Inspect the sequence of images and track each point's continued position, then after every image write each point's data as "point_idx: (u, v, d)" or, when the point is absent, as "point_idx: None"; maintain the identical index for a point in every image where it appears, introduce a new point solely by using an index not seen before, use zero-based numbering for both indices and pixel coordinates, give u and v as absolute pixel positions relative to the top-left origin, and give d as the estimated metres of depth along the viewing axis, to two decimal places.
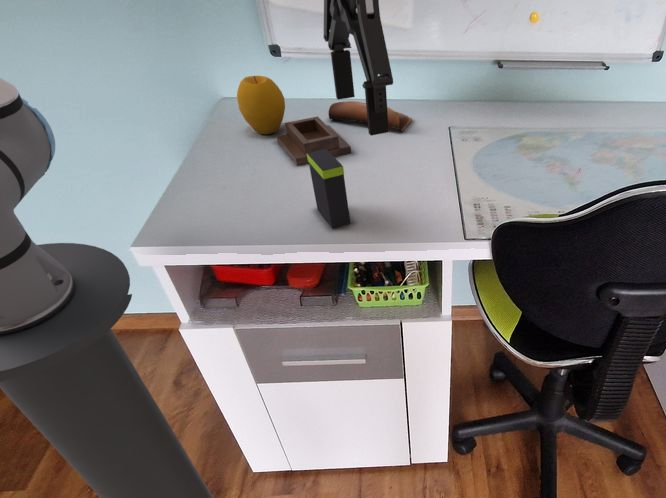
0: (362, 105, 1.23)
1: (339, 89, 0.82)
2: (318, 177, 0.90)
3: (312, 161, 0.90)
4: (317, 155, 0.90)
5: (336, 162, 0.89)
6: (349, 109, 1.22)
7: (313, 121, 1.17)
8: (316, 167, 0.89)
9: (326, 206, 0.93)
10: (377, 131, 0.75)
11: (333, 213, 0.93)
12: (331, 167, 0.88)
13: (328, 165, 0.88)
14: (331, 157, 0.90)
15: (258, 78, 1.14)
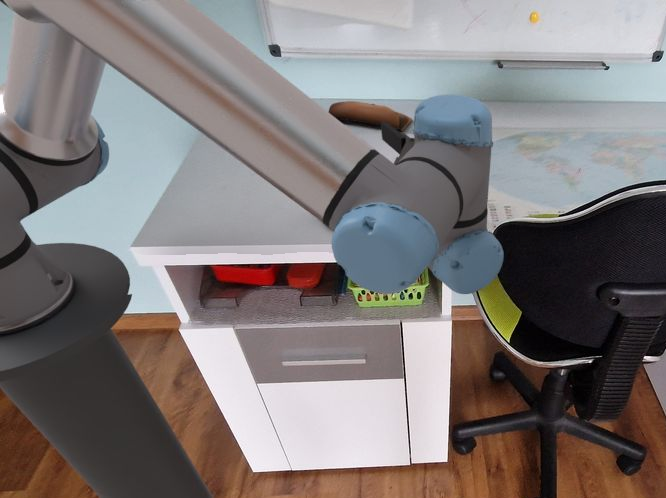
0: (362, 105, 1.23)
1: (385, 128, 0.80)
2: None
3: None
4: None
5: None
6: (349, 109, 1.22)
7: None
8: None
9: None
10: None
11: None
12: None
13: None
14: None
15: None
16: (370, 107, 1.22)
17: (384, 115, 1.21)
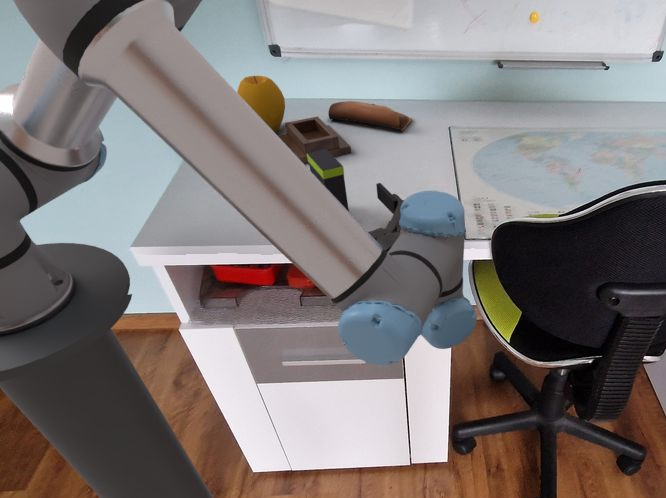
0: (362, 105, 1.23)
1: (380, 189, 0.91)
2: (318, 177, 0.90)
3: (312, 161, 0.90)
4: (317, 155, 0.90)
5: (336, 162, 0.89)
6: (349, 109, 1.22)
7: (313, 121, 1.17)
8: (316, 167, 0.89)
9: None
10: None
11: None
12: (331, 167, 0.88)
13: (328, 165, 0.88)
14: (331, 157, 0.90)
15: (258, 78, 1.14)
16: (370, 107, 1.22)
17: (384, 115, 1.21)
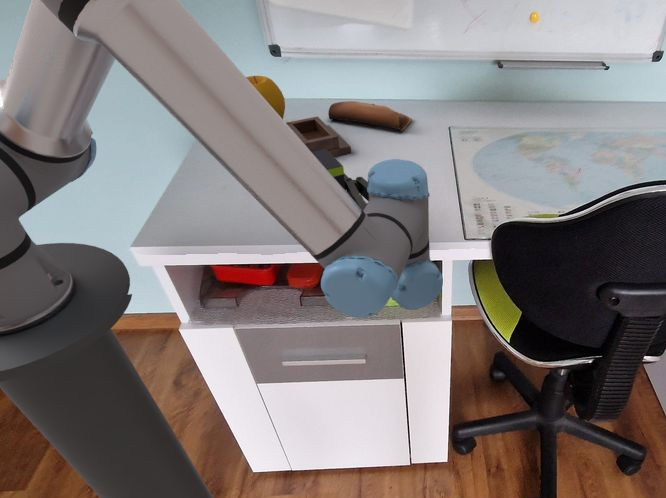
0: (362, 105, 1.23)
1: None
2: None
3: None
4: (317, 155, 0.90)
5: (336, 162, 0.89)
6: (349, 109, 1.22)
7: (313, 121, 1.17)
8: None
9: None
10: None
11: None
12: (331, 167, 0.88)
13: (328, 165, 0.88)
14: (331, 157, 0.90)
15: (258, 78, 1.14)
16: (370, 107, 1.22)
17: (384, 115, 1.21)
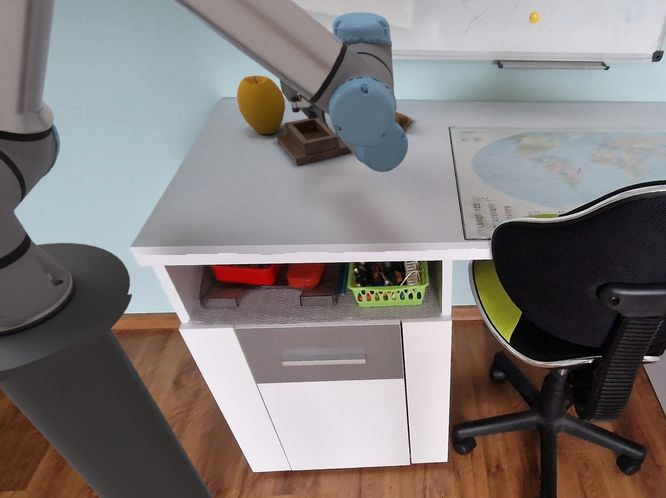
0: None
1: None
2: None
3: None
4: None
5: None
6: None
7: (313, 121, 1.17)
8: None
9: None
10: None
11: None
12: None
13: None
14: None
15: (258, 78, 1.14)
16: None
17: None
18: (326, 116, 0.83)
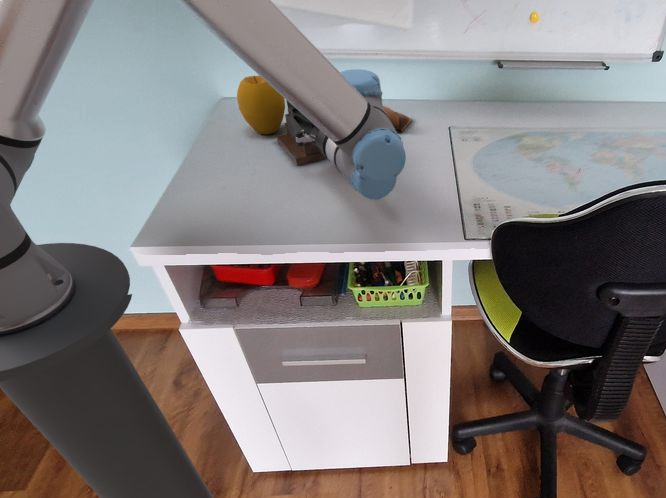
0: None
1: None
2: None
3: None
4: None
5: None
6: None
7: None
8: None
9: None
10: (287, 104, 1.12)
11: None
12: None
13: None
14: None
15: (258, 78, 1.14)
16: None
17: None
18: (327, 151, 0.98)
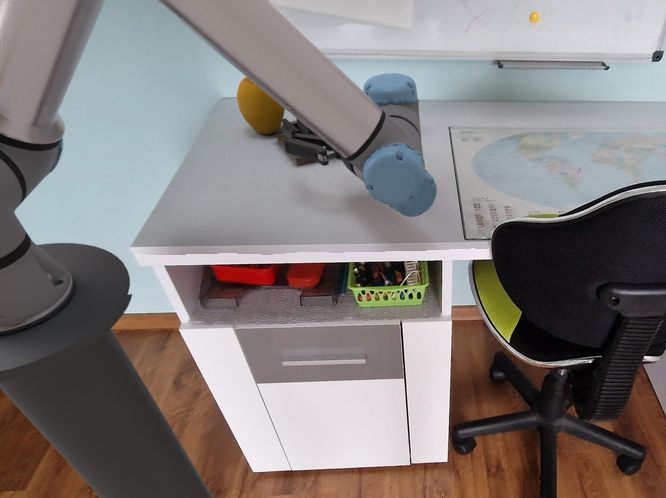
0: None
1: None
2: None
3: None
4: None
5: None
6: None
7: None
8: None
9: (306, 129, 1.10)
10: (283, 125, 0.99)
11: (311, 134, 1.10)
12: None
13: None
14: None
15: None
16: None
17: None
18: (355, 165, 0.88)
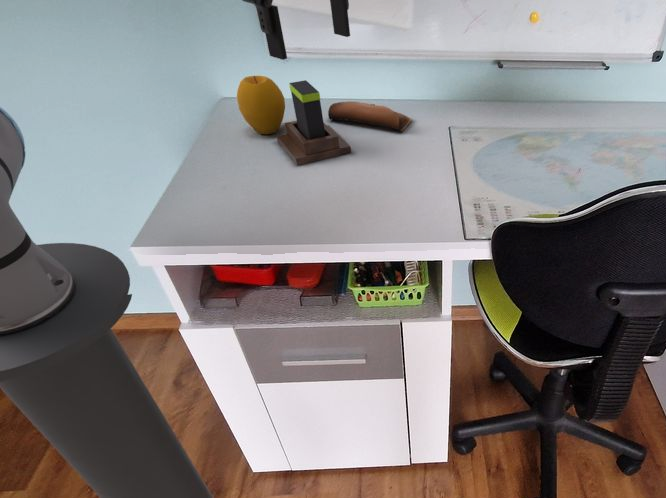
0: (362, 105, 1.23)
1: (334, 23, 0.85)
2: (299, 102, 1.08)
3: (293, 89, 1.07)
4: (298, 84, 1.08)
5: (313, 89, 1.06)
6: (349, 109, 1.22)
7: None
8: (297, 93, 1.06)
9: (306, 129, 1.10)
10: (274, 54, 0.77)
11: (311, 134, 1.10)
12: (309, 92, 1.05)
13: (307, 91, 1.06)
14: (309, 86, 1.08)
15: (258, 78, 1.14)
16: (370, 107, 1.22)
17: (384, 116, 1.21)
18: None
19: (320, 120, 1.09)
